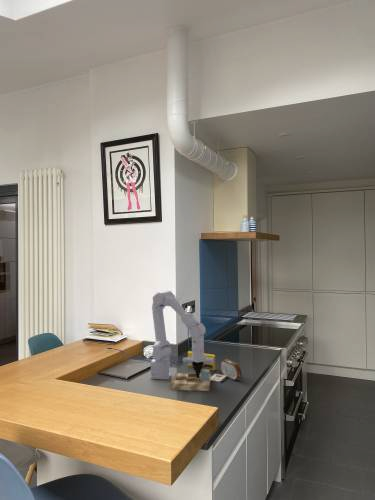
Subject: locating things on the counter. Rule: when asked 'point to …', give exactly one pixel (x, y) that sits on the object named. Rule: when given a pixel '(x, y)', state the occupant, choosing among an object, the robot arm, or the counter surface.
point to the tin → (231, 369)
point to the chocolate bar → (218, 376)
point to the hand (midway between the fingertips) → (198, 377)
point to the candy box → (205, 365)
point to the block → (205, 374)
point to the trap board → (189, 382)
